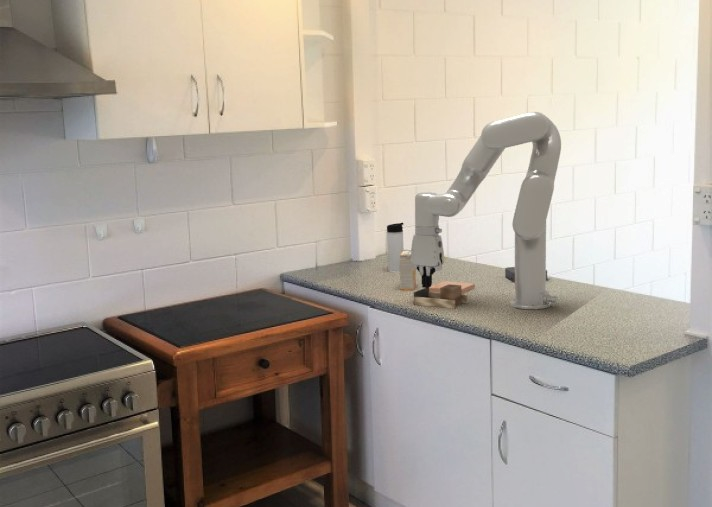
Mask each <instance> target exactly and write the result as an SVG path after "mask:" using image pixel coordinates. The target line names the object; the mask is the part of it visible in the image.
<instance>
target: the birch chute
mask: <svg viewBox="0 0 712 507" xmlns="http://www.w3.org/2000/svg"><path fill="white" fill-rule="evenodd" d="M462 304H468V294H462ZM413 305H414V306H415V305H416V306H425V307H435V308H444V309H456V306H455V300H445V299H440V293H438V292H429V288H422V289H419V290H416V291H413Z"/></svg>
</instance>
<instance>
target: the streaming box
mask: <svg viewBox="0 0 712 507" xmlns="http://www.w3.org/2000/svg"><path fill="white" fill-rule="evenodd" d="M504 271H505V272H504V273H505V274H504V275H505V276H504V278H506V280H509V281H510V282H511V283H514V284H515V266H510V267H509V266H508V267H505V270H504ZM547 281H548V270H547V269H546V282H547Z"/></svg>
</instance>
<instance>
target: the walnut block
mask: <svg viewBox="0 0 712 507" xmlns="http://www.w3.org/2000/svg"><path fill="white" fill-rule="evenodd" d="M462 295H463V294H462V289H461V285H451V284H449V285H446V286H444V287H441V288H440V299H445V300H455V307H458V306H460V305H461V304H462V305H463V303H462Z"/></svg>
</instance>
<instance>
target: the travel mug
mask: <svg viewBox="0 0 712 507" xmlns="http://www.w3.org/2000/svg"><path fill="white" fill-rule="evenodd" d="M404 224H405V223H404V222H399V223H393V224H392V223H391V224H388V225H386V241H387V243H386V244H387V249H386V250H387V271H388V270H389V271H395V272H394V273H399V272H398V271H400V260H399V255H400V254H401V253H402V252H403V251H404V250H405V249H404V230H403V229H404V227H403V226H404ZM389 271H388V272H389Z"/></svg>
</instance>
